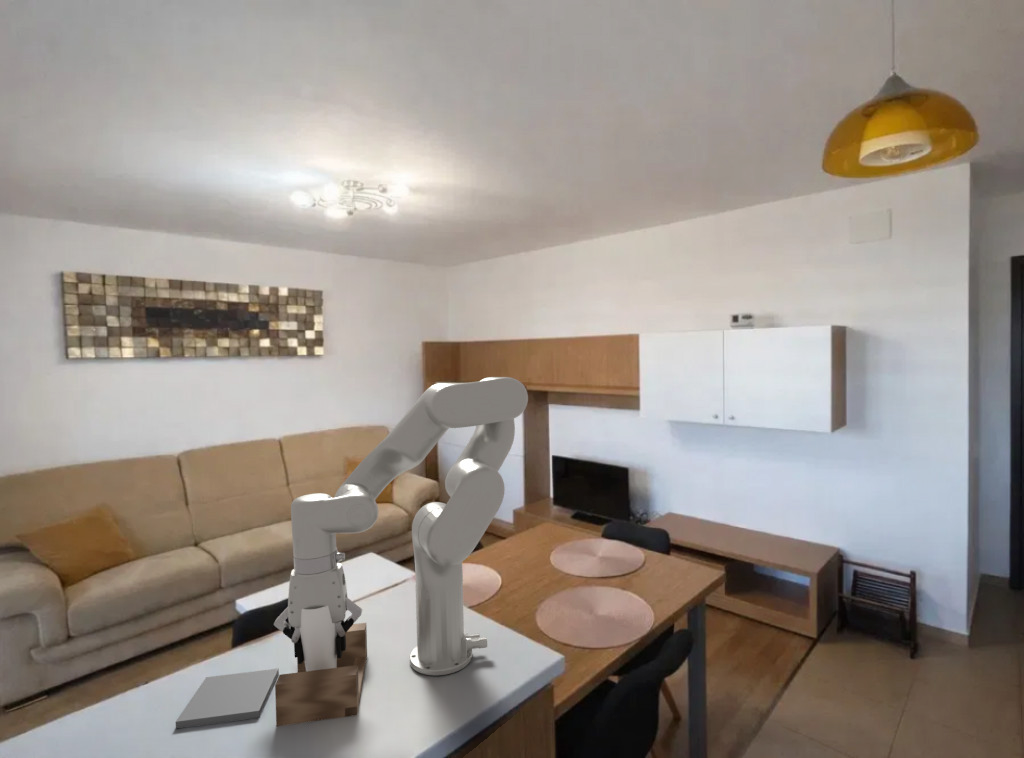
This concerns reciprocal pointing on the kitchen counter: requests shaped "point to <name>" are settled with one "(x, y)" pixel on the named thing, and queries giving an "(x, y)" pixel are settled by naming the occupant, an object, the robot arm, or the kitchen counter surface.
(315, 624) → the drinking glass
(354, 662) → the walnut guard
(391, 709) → the kitchen counter surface
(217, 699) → the slate board
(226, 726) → the kitchen counter surface
